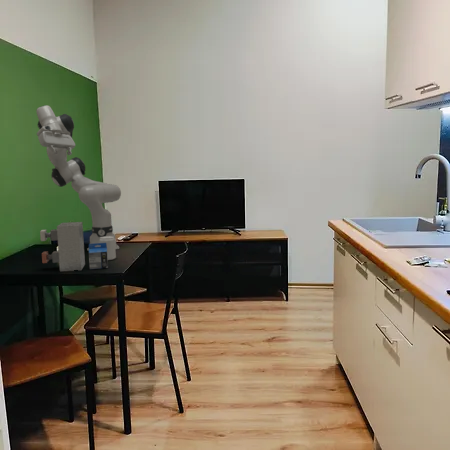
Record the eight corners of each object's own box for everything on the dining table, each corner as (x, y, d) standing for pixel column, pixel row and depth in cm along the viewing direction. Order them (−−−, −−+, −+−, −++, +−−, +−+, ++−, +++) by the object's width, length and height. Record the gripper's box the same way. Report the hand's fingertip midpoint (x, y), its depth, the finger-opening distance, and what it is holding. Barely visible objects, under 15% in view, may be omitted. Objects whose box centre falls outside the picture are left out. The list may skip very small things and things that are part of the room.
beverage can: (100, 261, 247) (98, 238, 246) (101, 258, 255) (99, 236, 254) (115, 260, 249) (114, 238, 247) (116, 257, 257) (115, 235, 255)
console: (56, 265, 238) (53, 223, 235) (85, 264, 240) (82, 221, 237) (51, 272, 224) (48, 226, 221) (81, 270, 227) (78, 225, 224)
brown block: (44, 261, 232) (43, 251, 232) (56, 260, 233) (55, 251, 233) (42, 263, 228) (41, 253, 227) (54, 262, 229) (53, 253, 228)
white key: (42, 239, 231) (42, 229, 230) (54, 238, 232) (53, 229, 231) (40, 241, 226) (40, 231, 226) (52, 240, 227) (52, 230, 226)
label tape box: (89, 269, 228) (87, 245, 226) (89, 267, 232) (88, 243, 230) (107, 268, 230) (106, 243, 228) (108, 266, 234) (106, 242, 232)
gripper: (65, 137, 258) (75, 158, 255) (33, 133, 241) (43, 155, 238) (72, 130, 255) (81, 152, 252) (40, 126, 238) (50, 148, 235)
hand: (62, 153), depth 245 cm, fingers open, 8 cm apart
